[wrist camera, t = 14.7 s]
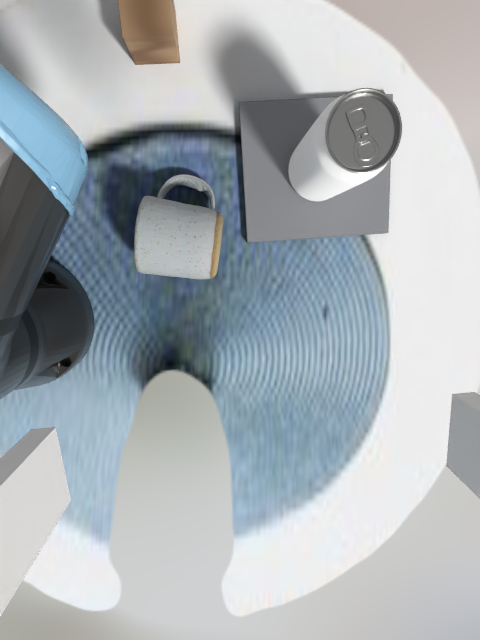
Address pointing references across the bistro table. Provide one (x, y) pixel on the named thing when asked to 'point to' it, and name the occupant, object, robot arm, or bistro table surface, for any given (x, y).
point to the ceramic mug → (178, 234)
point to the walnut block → (150, 30)
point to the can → (346, 145)
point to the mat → (277, 191)
